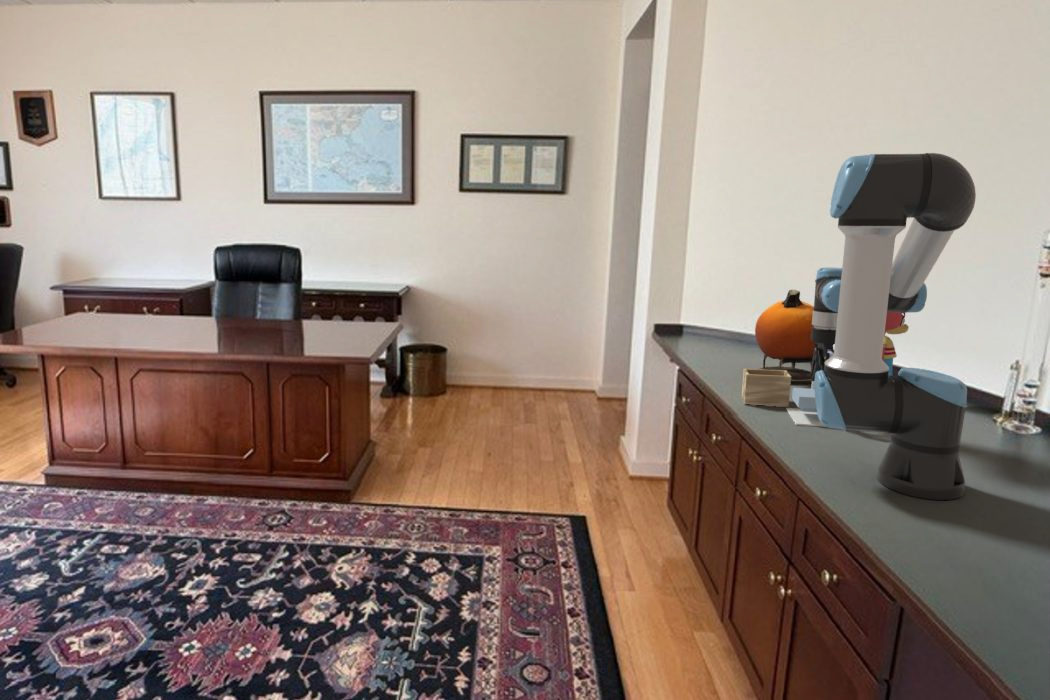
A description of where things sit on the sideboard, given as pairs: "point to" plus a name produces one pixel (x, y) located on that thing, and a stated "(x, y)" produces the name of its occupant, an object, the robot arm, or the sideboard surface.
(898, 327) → the toy
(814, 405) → the lid
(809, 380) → the pumpkin
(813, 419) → the pad
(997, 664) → the sideboard surface
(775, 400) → the box
